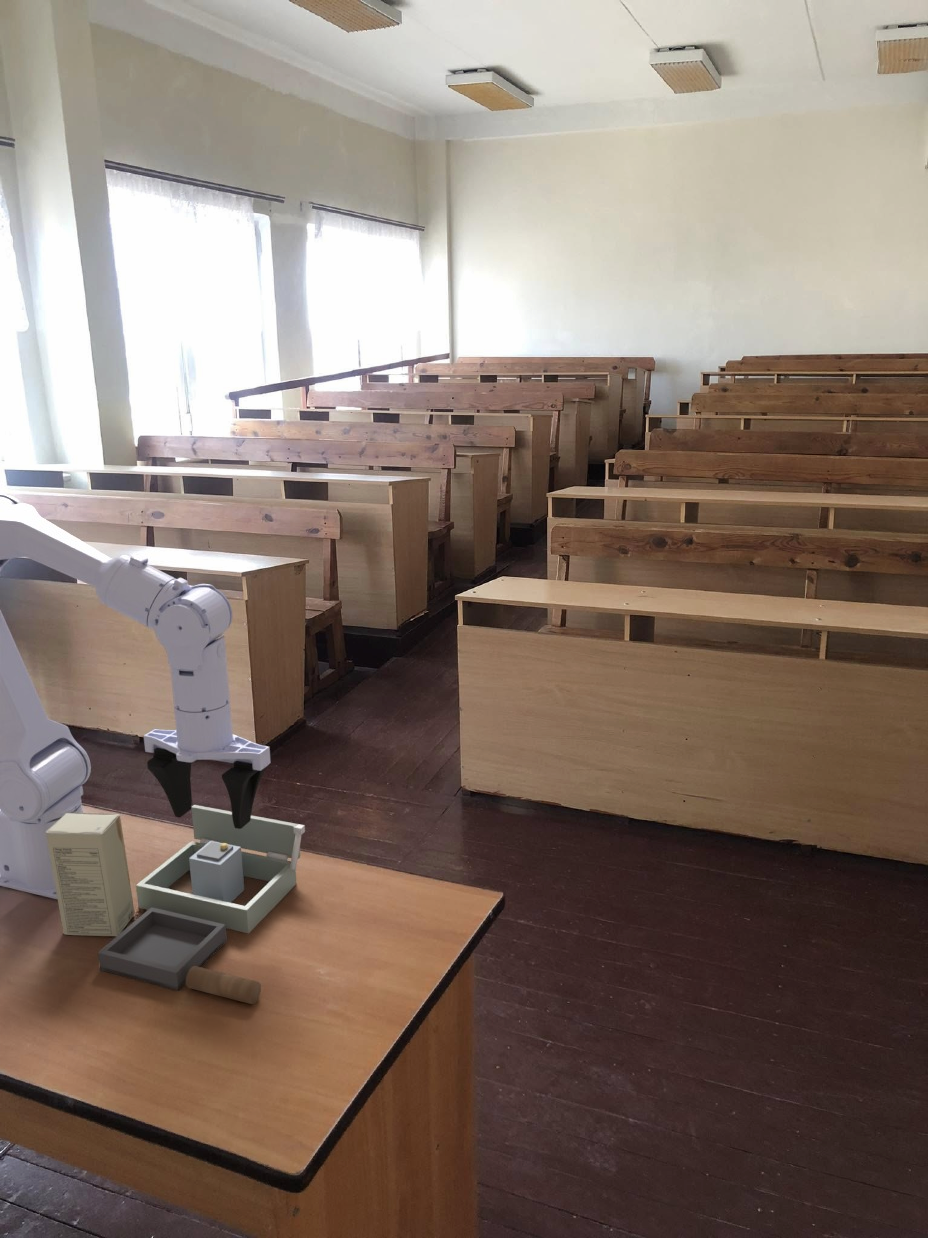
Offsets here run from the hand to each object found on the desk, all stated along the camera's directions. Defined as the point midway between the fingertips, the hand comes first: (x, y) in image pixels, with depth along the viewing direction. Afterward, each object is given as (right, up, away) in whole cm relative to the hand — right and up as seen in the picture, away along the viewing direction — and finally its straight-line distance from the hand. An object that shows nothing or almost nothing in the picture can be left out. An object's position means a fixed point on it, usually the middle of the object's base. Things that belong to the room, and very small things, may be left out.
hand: (212, 818), depth 102 cm
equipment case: (0, -9, +3) cm, 10 cm away
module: (0, -9, +3) cm, 10 cm away
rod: (+5, -14, -13) cm, 20 cm away
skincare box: (-12, -11, -2) cm, 16 cm away
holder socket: (-3, -12, -8) cm, 15 cm away
